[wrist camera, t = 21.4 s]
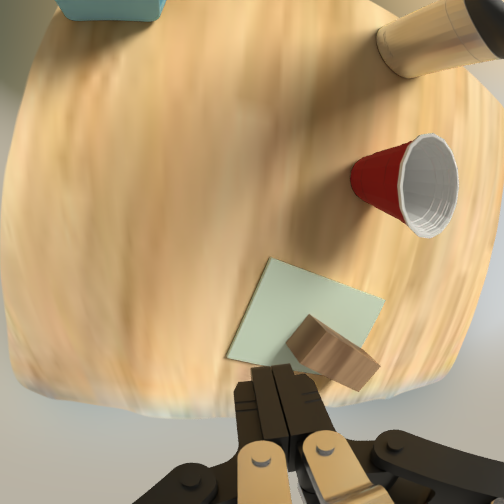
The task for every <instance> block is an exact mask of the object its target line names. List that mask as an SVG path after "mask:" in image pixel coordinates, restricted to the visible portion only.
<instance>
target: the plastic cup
mask: <svg viewBox="0 0 504 504" xmlns="http://www.w3.org/2000/svg"><path fill="white" fill-rule="evenodd" d="M350 180H351V186H352V189H353V190H354V192H355V194H356V195H357V196H358V197H359V198H361V199H362V200H363V201H365V202H367V203H369V204H371V205H373V206H374V207H376V208H378V209H380V210H382V211H384V212H385V213H387V214H389V215H391V216H393V217H395V218H397V219H399V220H400V221H402V222H403V223H405V224H406V225H407V226H408V227H409V228H410V229H411V230H412V231H413V232H414V233H415V234H416V235H417V236H419V237H424V238H432V237H434V236H436V235H438V234H439V233H441V232H442V231H443V230H444V228H445V227H446V226H447V224H448V223H449V222H450V220H451V218H452V215H453V212H454V210H455V207H456V204H457V197H458V190H459V180H458V168H457V165H456V161H455V158H454V155H453V152H452V151H451V149H450V148H449V146H448V145H447V143H446V142H445V140H444V139H442V138H441V137H439V136H437V135H435V134H434V133H430V134H423V135H419V136H418V137H417V138H415V139H414V140H413V141H409V142H408V143H405V144H402V145H400V146H397V147H393V148H390V149H387V150H383V151H380V152H376V153H374V154H373V155H369V156H366V157H363V158H362V159H360V160H359V161H358V162H356V163H355V165H354V167H353V169H352V170H351V178H350Z"/></svg>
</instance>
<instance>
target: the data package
mask: <svg viewBox="0 0 504 504" xmlns="http://www.w3.org/2000/svg"><path fill="white" fill-rule="evenodd" d="M55 1H56V2H57V4H58V6H59V7H60V9H61V10H62V12H63V13H64V15H65V16H66V17H67V18H68V19H70V20H74V21H89V20H124V21H144V22H151V21H155V20H157V19H158V18H159V17H160V15H161V12H162V10H163V7H164V5H165V2H166V0H55Z"/></svg>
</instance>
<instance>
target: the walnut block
mask: <svg viewBox="0 0 504 504" xmlns="http://www.w3.org/2000/svg"><path fill="white" fill-rule="evenodd" d="M286 345H287V346H288V348H289V349H290V350H291V352H292V353H293V355H294V356H295V357H296V359H297V360H298V362H299V363H300V364H302V365H304V366H306V367H308V368H310V369H312V370H314V371H316V372H318V373H320V374H322V375H324V376H326V377H328V378H330V379H332V380H334V381H336V382H338V383H340V384H342V385H345V386H347V387H349V388H351V389H353V390H355V391H358V392H359V391H360V390H361V388H362V387H363V386H364V385H365V384H366V383H367V382H368V380H369V379H370V378H371V377H372V376H373V375H374V373H375V372H376V371H377V370H378V369H379V367H380V365H379V364H378V363H377V362H376V361H375V360H374V359H373V358H372V357H370V356H369V355H368V354H367V353H366V352H365V351H364V350H363V349H361V348H360V347H358V346H357V345H355V344H354V343H352V342H351V341H349V340H348V339H346V338H345V337H343V336H342V335H340V334H339V333H337V332H336V331H334V330H333V329H331V328H330V327H328V326H327V325H325V324H324V323H322V322H321V321H319V320H318V319H316V318H315V317H313V316H312V315H310V314H308V316H307V317H306V318H305V319H304V321H303V322H302V323H301V324H300V326H299V327H298V328H297V329H296V331H295V332H294V333H293V334H292V335H291V337H290V338H289V339H288V340H287V341H286Z"/></svg>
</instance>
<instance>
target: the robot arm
mask: <svg viewBox="0 0 504 504" xmlns="http://www.w3.org/2000/svg"><path fill="white" fill-rule="evenodd" d="M377 46H378V49H379V52H380V54H381V56H382V58H383V60H384V61H385V62H386V64H387V65H388V66H389V67H390V68H391V70H393V71H394V72H395V73H396V74H398V75H400V76H401V77H404V78H414V77H418V76H422V75H426V74H430V73H434V72H438V71H442V70H447V69H451V68H456V67H460V66H465V65H470V64H475V63H480V62H486V61H491V60H498V59H504V2H503V1H502V0H438V1H436V2H434V3H431V4H429V5H427V6H424V7H423V8H420V9H418V10H416V11H414V12H411V13H409V14H407V15H405V16H403V17H401V18H399V19H397V20H395V21H393V22H391V23H389V24H387V25H385V26H383V27H382V28H380V29H379V31H378V33H377ZM234 401H235V412H236V421H237V432H238V442H239V447H238V451H237V452H236V454H235V455H234V456H233V458H231V459H230V460H229V461H227V462H225V463H222V464H220V465H217V466H213V467H210V468H208V467H207V466H204V465H202V464H199V463H185V464H182V465H179V466H177V467H176V468H174V469H173V470H172V471H171V472H170V473H168V474H167V475H166V476H165V477H164V478H163V479H162V480H161V481H159V482H158V483H157V484H156V485H155V486H153V487H152V488H151V489H150V490H148V491H147V492H146V493H145V494H144V495H142V496H141V497H140V498H139V499H137V500H136V501H135V502H134V503H132V504H292V500H291V493H290V487H289V480H288V473H287V469H288V472H292V471H296V473H297V477H298V490H299V493H300V496H301V498H302V501H303V504H504V462H500V461H496V460H492V459H488V458H484V457H481V456H477V455H473V454H470V453H466V452H463V451H460V450H457V449H453V448H450V447H447V446H444V445H441V444H438V443H435V442H432V441H429V440H426V439H423V438H421V437H418V436H415V435H413V434H410V433H407V432H405V431H401V430H388V431H385V432H383V433H381V434H380V435H379V436H378V437H377V438H376V440H375V441H354V440H349V439H346V438H344V437H343V436H342V435H341V434H339V433H337V432H336V431H335V429H334V427H333V425H332V422H331V420H330V418H329V415H328V413H327V411H326V409H325V406H324V404H323V401H322V400H321V397H320V394H319V393H318V390H317V388H316V385H315V383H314V381H313V380H312V379H310V378H309V377H308V376H307V375H306V374H300V375H294V372H293V370H292V367H291V364H290V363H286V364H279V365H271V367H270V366H263V367H254V368H251V381H245V382H238V384H237V386H236V388H235V390H234Z"/></svg>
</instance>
